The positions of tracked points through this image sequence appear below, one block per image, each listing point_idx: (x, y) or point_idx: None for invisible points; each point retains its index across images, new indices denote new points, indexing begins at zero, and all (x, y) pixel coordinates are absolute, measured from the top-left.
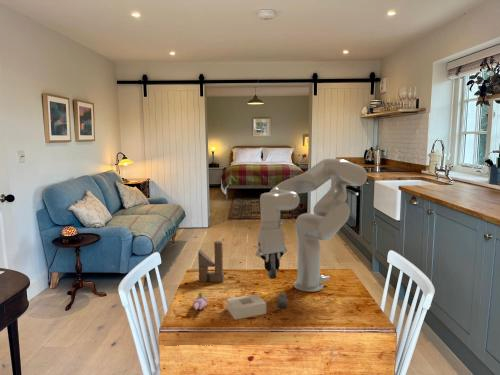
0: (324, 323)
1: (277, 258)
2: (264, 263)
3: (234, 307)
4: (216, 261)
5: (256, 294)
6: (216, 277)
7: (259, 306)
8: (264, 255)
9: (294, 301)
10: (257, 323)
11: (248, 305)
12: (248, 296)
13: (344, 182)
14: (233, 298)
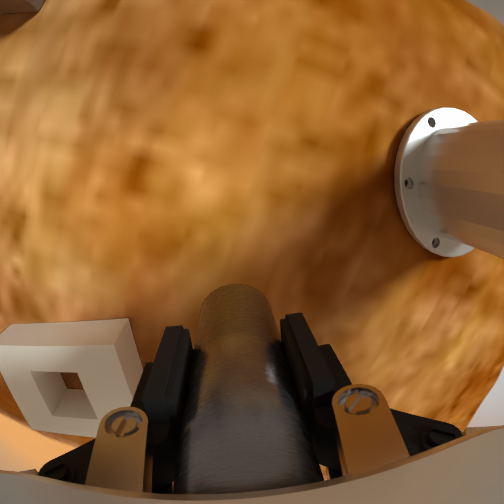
0: (325, 471)
1: (326, 462)
2: (135, 396)
3: (29, 422)
4: None
5: (110, 350)
6: (5, 4)
7: None
8: (112, 480)
9: (319, 333)
10: None
11: (75, 430)
12: (70, 358)
13: None
14: (10, 352)
